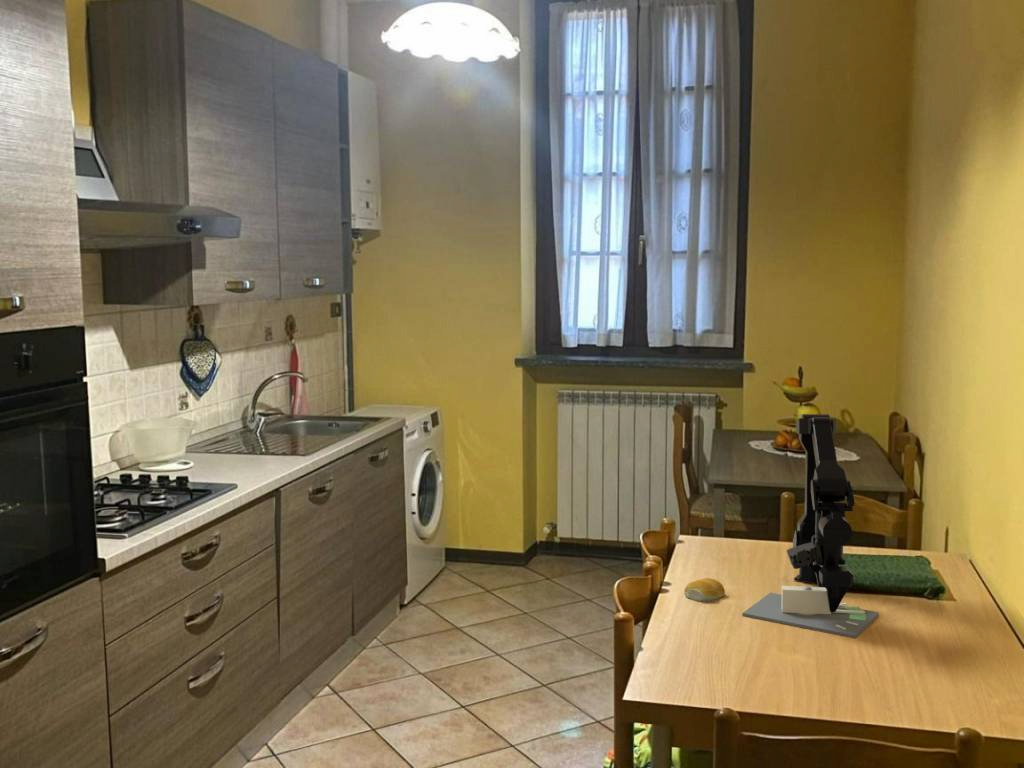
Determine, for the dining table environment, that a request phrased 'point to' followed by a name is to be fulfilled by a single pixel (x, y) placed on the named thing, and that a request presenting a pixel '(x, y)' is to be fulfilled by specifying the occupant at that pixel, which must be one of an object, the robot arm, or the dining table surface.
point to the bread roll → (704, 590)
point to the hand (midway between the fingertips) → (827, 604)
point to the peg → (808, 601)
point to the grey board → (813, 617)
